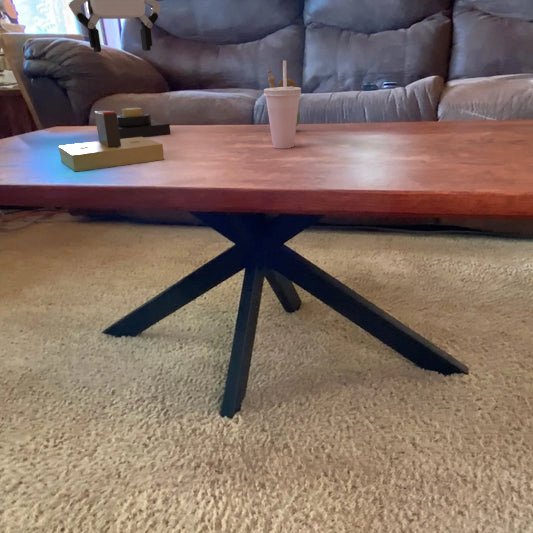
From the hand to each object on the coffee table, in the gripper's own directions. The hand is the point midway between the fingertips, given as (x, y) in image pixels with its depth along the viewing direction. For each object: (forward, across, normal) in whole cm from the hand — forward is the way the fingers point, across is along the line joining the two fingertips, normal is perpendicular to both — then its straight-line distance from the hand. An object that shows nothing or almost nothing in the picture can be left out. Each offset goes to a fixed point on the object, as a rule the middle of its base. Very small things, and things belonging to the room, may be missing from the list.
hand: (122, 51), depth 99 cm
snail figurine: (+17, -27, +15) cm, 35 cm away
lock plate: (+16, +10, +23) cm, 30 cm away
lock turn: (+14, +10, +23) cm, 29 cm away
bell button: (+13, -1, -2) cm, 13 cm away
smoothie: (+17, -18, +30) cm, 39 cm away
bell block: (+16, -1, -2) cm, 17 cm away
